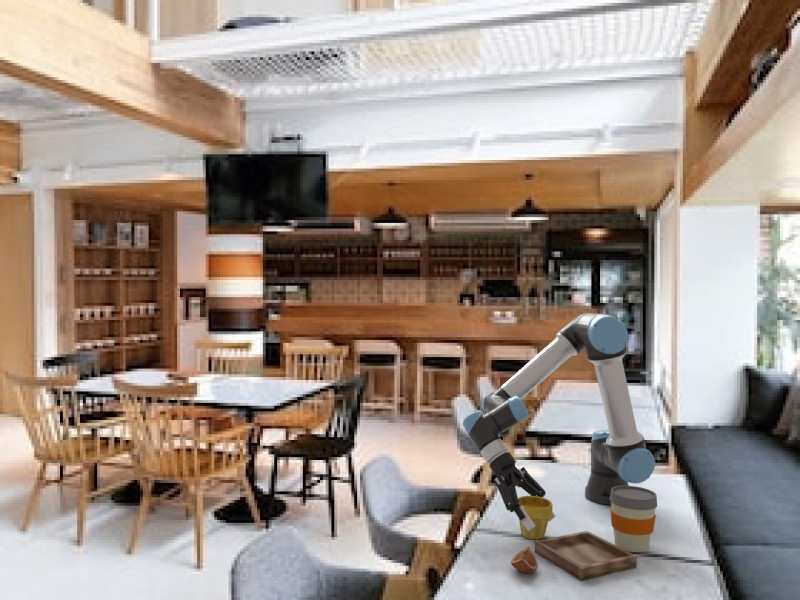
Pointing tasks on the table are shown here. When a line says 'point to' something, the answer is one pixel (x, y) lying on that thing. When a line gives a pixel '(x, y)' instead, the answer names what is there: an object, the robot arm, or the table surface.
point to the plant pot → (536, 515)
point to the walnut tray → (585, 555)
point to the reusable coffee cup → (632, 517)
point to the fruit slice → (525, 561)
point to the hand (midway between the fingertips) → (542, 523)
